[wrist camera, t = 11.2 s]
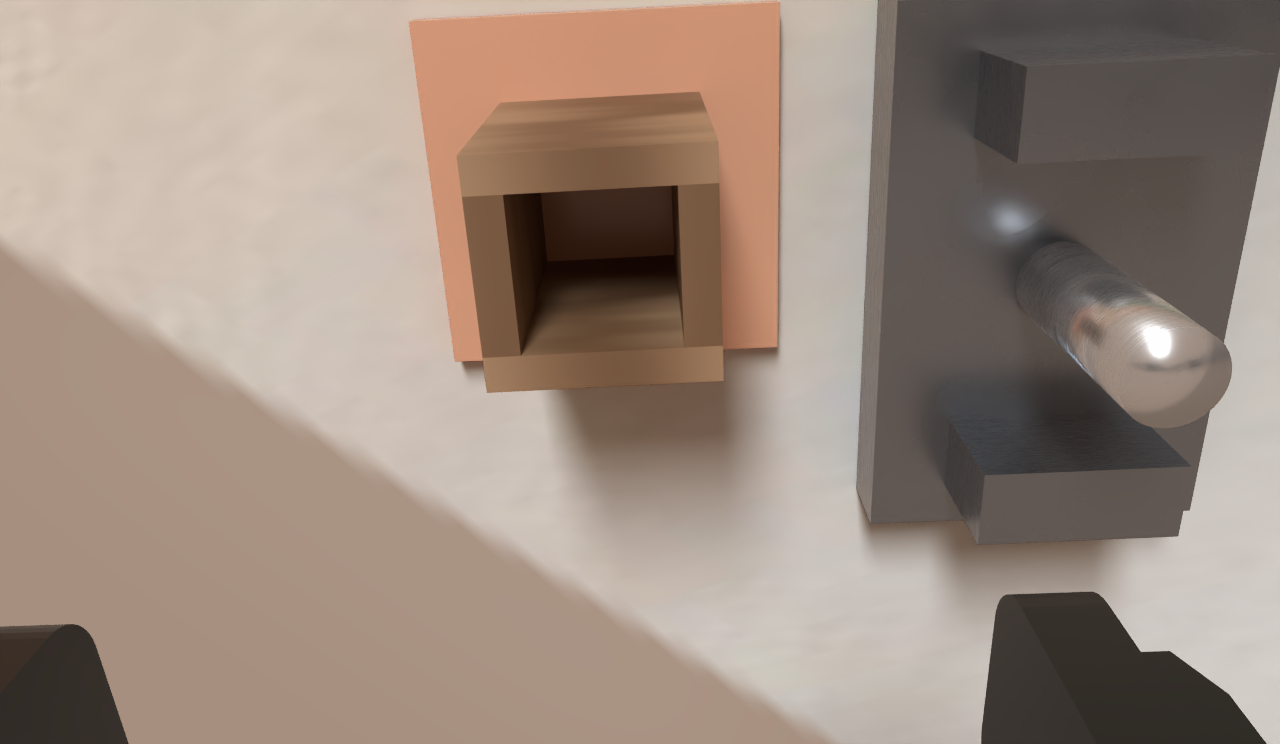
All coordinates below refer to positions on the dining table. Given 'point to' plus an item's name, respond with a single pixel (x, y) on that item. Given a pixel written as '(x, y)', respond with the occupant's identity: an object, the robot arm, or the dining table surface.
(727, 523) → the dining table surface
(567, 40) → the tile
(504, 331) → the sleeve
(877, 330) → the grey clamp base
